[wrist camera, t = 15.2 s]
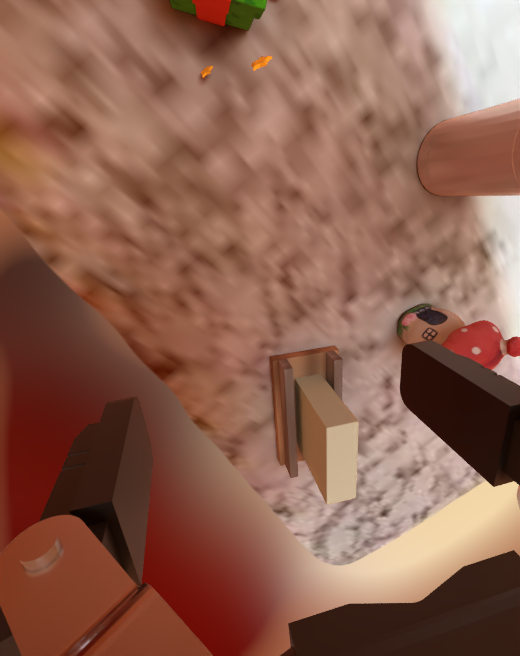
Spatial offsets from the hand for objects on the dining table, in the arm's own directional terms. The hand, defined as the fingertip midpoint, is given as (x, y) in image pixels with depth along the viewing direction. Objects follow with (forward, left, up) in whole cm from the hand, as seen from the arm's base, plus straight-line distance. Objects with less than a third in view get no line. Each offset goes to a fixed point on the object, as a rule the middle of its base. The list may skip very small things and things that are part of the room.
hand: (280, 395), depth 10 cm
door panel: (-13, +26, -34) cm, 45 cm away
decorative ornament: (-31, +15, -36) cm, 50 cm away
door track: (-12, +26, -36) cm, 46 cm away
